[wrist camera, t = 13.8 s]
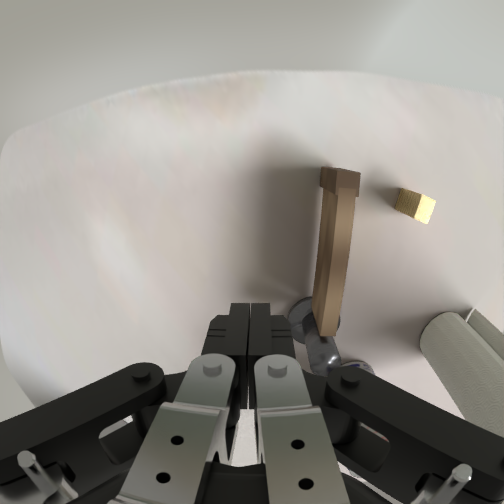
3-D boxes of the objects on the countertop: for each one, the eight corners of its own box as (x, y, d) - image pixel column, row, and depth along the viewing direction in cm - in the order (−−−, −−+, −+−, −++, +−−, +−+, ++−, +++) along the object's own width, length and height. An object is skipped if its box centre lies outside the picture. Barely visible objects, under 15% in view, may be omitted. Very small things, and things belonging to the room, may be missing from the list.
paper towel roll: (412, 358, 31) (495, 510, 10) (426, 311, 29) (542, 463, 8) (460, 351, 30) (549, 477, 10) (474, 308, 29) (589, 427, 8)
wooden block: (325, 303, 28) (337, 336, 23) (308, 303, 28) (317, 336, 23) (340, 168, 24) (360, 172, 19) (321, 166, 24) (337, 170, 19)
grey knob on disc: (326, 345, 30) (340, 392, 23) (279, 334, 30) (284, 381, 23) (347, 303, 29) (368, 345, 22) (298, 290, 28) (308, 331, 22)
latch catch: (406, 214, 26) (427, 224, 22) (394, 208, 26) (413, 218, 22) (414, 193, 25) (435, 200, 21) (401, 188, 25) (422, 194, 21)
